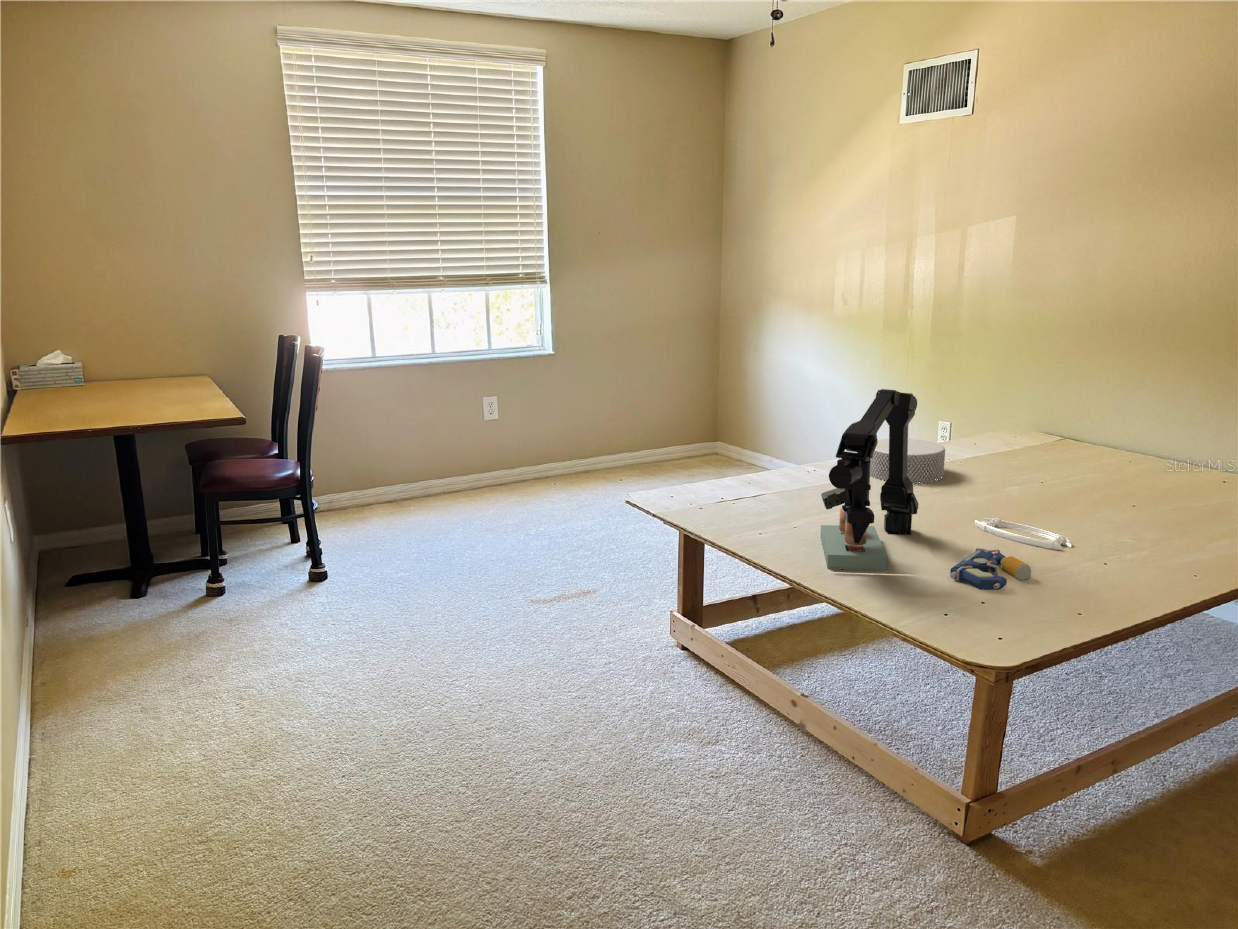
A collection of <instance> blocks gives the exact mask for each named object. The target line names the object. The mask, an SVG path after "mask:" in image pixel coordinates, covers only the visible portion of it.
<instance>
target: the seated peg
mask: <svg viewBox="0 0 1238 929" xmlns="http://www.w3.org/2000/svg"><path fill="white" fill-rule="evenodd" d="M845 517H846V512H845V511H844V510H843V509H842V507H840V508H839V524H838V525H839V532H840V533H842V534H845V519H846V518H845Z"/></svg>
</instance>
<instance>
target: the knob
mask: <svg viewBox="0 0 1238 929" xmlns="http://www.w3.org/2000/svg"><path fill="white" fill-rule="evenodd" d="M877 440H878V443H877V446H876V448H875V451H874V453H873V458H871V459H870V460H871V464H870V478H873V479H876V480H879V481H882V480H883V482H886V481H887V479H888V477H889V438H885V439H877ZM945 459H946V448H945V446H944V445H942V444H941V443H937V442H935V441H930V440H925V439H919V438H918V439H917V438H908V454H907V477H908V478H909V480H910V481H911V483H912V484H913V483H915V484H917V483H919V482H920V483H919V484H927V483H928V482H930V481H933V482H934V481H935V479H936V480H937V479H940V480H942V479H941V477H943V478H944V476H943V475H945V474H944V473H945ZM884 480H885V481H884ZM923 482H924V483H923ZM926 482H927V483H926ZM935 482H936V481H935ZM930 483H931V482H930Z"/></svg>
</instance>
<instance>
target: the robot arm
mask: <svg viewBox="0 0 1238 929" xmlns="http://www.w3.org/2000/svg"><path fill="white" fill-rule="evenodd" d="M917 407H918V398H916V396H915V395H914V394H913V393H912V392H900V391H899V390H898V391H897V390H896V389H886V388H881V389H878V390H877V392H876V393H875V397H874V399H873V400H872V401H871V404H870V405H869V407H868V408H867V410H866V411H865V413H864V414H863V415H862V417H861V418H860V420H858V421H855V422H853V423H851V424H850V425H849V426H848V427H847V428H846V429H845V431H843V433H842V436H841V439H840V441H839V445H838V448H837V450H836V451H837V452H836V454H835V458H837V459H838V460H837V461H836V465H834V466H832V467H831V469H830V470H829V473H828V479H829V483H831V485H832V486H833V487H835V488H833V489H830V490H827V491H824V492H822V493H820V496H821V499H822V503H823V504H824V507H825V509H826V510H831V509H833V508H835V507H837V506H841V508H842V509H843V510H844V511H845V512H846V517H845V518H846V521H847V522H848V523H850V524H851V525H852V531H853V538H854V543H857V544H858V543H859V542H860V540H861V539H862V537H863V535H864V533H865V531H866V529H867V528H868V526H870V524H875V514H874V511H873V510H872V509H871V508H870V506H871V501H870V491H871V490H872V489H871V488H872V487H871V486H872V485H871V483H870V482H871V476H870V464H871V460H870V459H871V458H873V453H874V451H875V448H876V446H877V443H878V440H879V439H878V436H877V435H878V431H879V430H880V428H881V427H882V425H883V423H884V422H886V423H887V425H888V426H889V428H888V429H889V430H888V432H889V433H888V439H889V477H888V479H887V481H884V483H883V484H882V485H881V487H880V489H881V491H880V495H879V498H880V499H879V500H880V508H881V511H885V512H886V513H885V514H884V516H883V517H884V520H883V529H884V531H885V532H886V533H887V535H898V536H899V535H904V536H905V535H906V536H907V535H908V536H913V532H912V522H913V521H912V520H913V515H917V514H918V510H919V506H920V505H919V502H918V498H917V497H916V495H915V493H914V484H913V483H911V481H910V480H909V478H908V477H907V454H908V439H909V424H910V422H911V421H912V420H913V418H914V417H915V415H916V410H917Z"/></svg>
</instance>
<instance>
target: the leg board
mask: <svg viewBox="0 0 1238 929" xmlns="http://www.w3.org/2000/svg"><path fill="white" fill-rule="evenodd" d="M844 541H845V534H842V533H840V532H839V524H837V525H836V524H835V525H834V524H820V542H821V546H822V551H823V555H824V560H825V563H826V568H827V569H836V570H837V569H839V570H840V569H841V570H842V569H843V570H873V571H875V570H877V571H880V570H881V571H887V563H888V562H887V561H888V558H887V557H888V555H887V553H886V551H885V548H884V546H883V543H882V541H881V539H880V536H879V534H878V532H877V529H876V527H875V525H869V526H868V528H867V537H866V545H865V546H863V548H862V549H861V552H852V551H849V548H848V545H846V544H845V543H844Z"/></svg>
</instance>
